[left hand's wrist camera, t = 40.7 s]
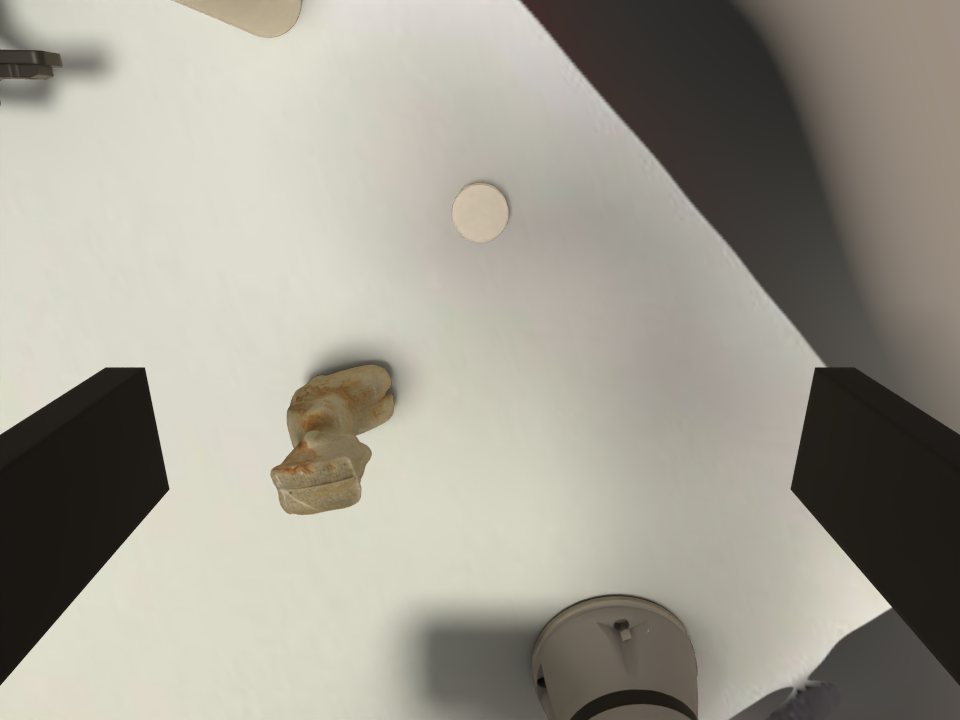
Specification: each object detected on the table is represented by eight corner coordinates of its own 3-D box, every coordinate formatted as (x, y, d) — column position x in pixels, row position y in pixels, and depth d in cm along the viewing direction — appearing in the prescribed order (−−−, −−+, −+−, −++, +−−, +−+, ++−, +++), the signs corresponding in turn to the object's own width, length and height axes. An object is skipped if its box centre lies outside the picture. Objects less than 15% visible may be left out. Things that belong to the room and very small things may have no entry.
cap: (441, 210, 45) (439, 213, 43) (480, 170, 44) (480, 172, 42) (479, 249, 46) (479, 254, 44) (518, 211, 45) (520, 214, 43)
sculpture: (400, 419, 51) (369, 530, 37) (313, 426, 51) (249, 540, 37) (390, 352, 49) (353, 442, 35) (299, 359, 49) (226, 453, 35)
